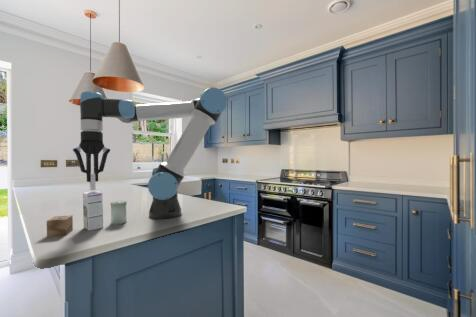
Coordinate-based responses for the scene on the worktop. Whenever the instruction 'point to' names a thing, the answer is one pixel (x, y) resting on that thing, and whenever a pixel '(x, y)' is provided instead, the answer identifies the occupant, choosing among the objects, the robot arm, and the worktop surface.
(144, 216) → the worktop surface
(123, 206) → the sage jar
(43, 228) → the worktop surface
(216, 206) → the worktop surface
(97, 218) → the syrup box
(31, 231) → the worktop surface
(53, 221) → the cardboard box
